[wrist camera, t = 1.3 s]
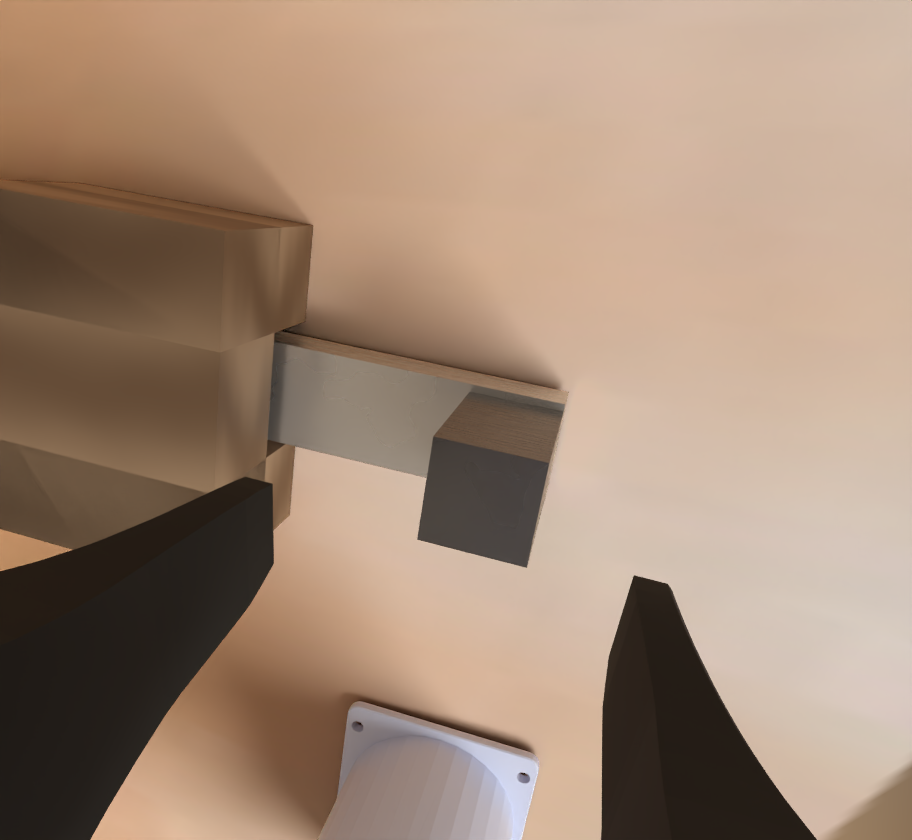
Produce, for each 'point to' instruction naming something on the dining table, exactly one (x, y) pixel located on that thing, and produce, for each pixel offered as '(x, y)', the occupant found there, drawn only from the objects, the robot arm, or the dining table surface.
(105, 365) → the bearing block
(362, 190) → the dining table surface
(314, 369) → the grey l-shaped bar
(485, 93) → the dining table surface
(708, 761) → the robot arm
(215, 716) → the dining table surface
